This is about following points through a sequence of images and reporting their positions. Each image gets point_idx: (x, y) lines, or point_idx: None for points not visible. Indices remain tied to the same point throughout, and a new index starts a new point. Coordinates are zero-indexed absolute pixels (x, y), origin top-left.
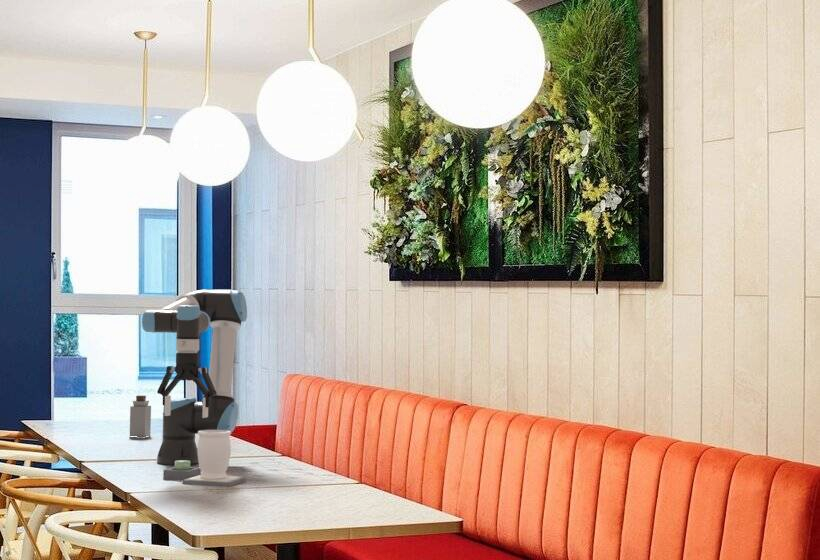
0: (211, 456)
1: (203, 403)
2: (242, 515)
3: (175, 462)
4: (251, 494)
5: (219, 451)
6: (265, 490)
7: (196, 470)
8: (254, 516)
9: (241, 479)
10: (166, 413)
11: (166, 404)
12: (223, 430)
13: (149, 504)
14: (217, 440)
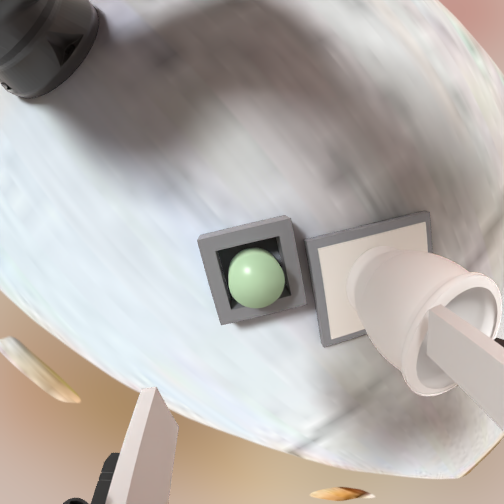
0: (423, 342)
1: (483, 402)
2: (483, 426)
3: (244, 305)
4: None
5: None
6: None
7: (296, 250)
8: (492, 420)
9: (430, 238)
10: (175, 438)
11: (166, 486)
12: (472, 275)
13: (377, 472)
14: None
